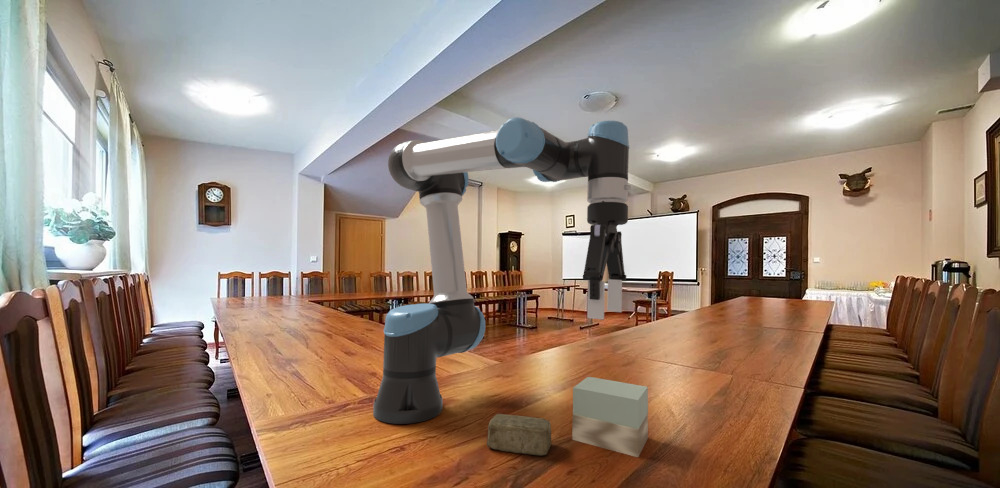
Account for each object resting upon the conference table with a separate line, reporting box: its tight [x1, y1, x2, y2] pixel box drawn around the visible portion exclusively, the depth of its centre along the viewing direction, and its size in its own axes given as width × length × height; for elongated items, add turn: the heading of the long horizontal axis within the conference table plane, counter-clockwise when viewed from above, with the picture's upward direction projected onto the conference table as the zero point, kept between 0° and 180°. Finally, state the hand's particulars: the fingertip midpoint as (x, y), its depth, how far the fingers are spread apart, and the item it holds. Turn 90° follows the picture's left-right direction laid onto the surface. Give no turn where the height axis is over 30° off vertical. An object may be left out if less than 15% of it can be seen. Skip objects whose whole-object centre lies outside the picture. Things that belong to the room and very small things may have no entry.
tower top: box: [572, 376, 649, 429], centre depth 72 cm, size 12×9×5 cm
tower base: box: [571, 413, 649, 458], centre depth 71 cm, size 12×9×5 cm
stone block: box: [486, 413, 552, 456], centre depth 67 cm, size 6×12×5 cm, turn 77°
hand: (605, 315), depth 70 cm, fingers open, 13 cm apart
